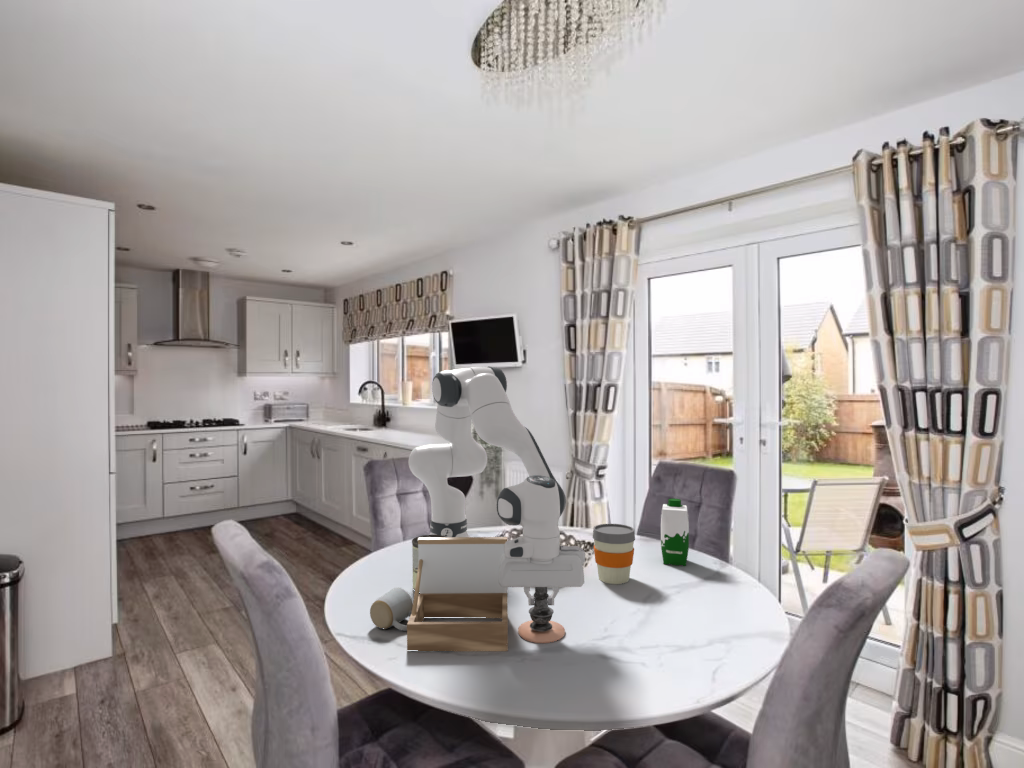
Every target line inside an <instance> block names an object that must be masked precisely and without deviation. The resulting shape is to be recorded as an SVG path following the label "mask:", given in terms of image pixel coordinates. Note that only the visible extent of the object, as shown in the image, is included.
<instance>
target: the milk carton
mask: <svg viewBox="0 0 1024 768" xmlns="http://www.w3.org/2000/svg"><path fill="white" fill-rule="evenodd" d="M667 501H668V502H667V503H663V504H662V508H661V516H660V547H661V548H660V549H661V555H662V563H663V565H668V564H672V565H671V566H679V565H683V566H682V567H686V566H687V562H688V555H689V548H690V537H689V536H690V528H689V527H690V523H689V520H690V516H689V511H688V506H687V505H684V504H682V500H681V499H680V498H676V497H675V498H668V499H667Z"/></svg>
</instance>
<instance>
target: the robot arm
mask: <svg viewBox="0 0 1024 768" xmlns="http://www.w3.org/2000/svg"><path fill="white" fill-rule="evenodd" d="M431 385H432V387H431V391H432V395H433V399H434V401H435V403H436V404H437V406H436V416H435V427H434V428H435V431H436V433H437V435H439V436H440V437H441V438H442V439H443V440H445V441H447V442H448V443H427V444H423V445H420V446H416V447H414V448H413V449H412V450H411V452H410V454H409V456H408V463H407V464H408V467H409V468H408V469H409V470H410V472H411V474H412V475H413V476H414V477H416V478H417V479H419V481H421V483H423V485H425V487H426V490H427V491H428V494H429V497H430V499H429V500H430V505H431V506H430V508H431V510H430V511H431V519H430V520H429V521H430V523H429V527H430V528H429V531H430V533H429V534H428V535H442V536H446V537H471V536H470V535H469V533H468V532H467V530H468V519H467V515H466V505H467V504H466V502H467V501H466V500H467V499H466V495H465V494H464V493H463V491H461V490H460V489H459V488H457V487H454V486H452V485H449V483H448V478H457V477H460V478H461V477H470V476H474V475H478V474H481V473H483V472H484V470H485V469H486V467H487V465H488V454H487V451H486V449H485V448H484V446H482V444H480V443H479V442H477V441H476V440H475V439H474V436H473V434H472V426H473V428H474V430H475V433H476V434H477V436H478V437H479V438H480V439H481V440H482V442H485V443H487V444H489V445H490V446H494V447H498V448H501V449H505V450H507V451H510V452H511V453H514V454H515V455H516V456H518V458H519V459H520V460H521V461H522V463H523V465H524V468H525V469H526V472H527V474H528V476H527V477H526V478H525V479H524V480H523V481H522V482H519V483H518V484H514V485H510V486H507V487H504V488H502V490H501V491H500V492H499V494H498V496H497V499H496V512H497V515H498V517H499V519H500V520H501V521H502V522H503V523H504V524H506V525H507V526H521V527H522V535H521V536H518V537H515V538H512V539H508V540H507V541H506V542H505V545H504V554H503V555H502V557H501V561H500V567H499V580H498V583H499V584H500V586H501V587H507V588H523V592H524V594H525V595H526V597H527V599H528V600H527V602H528V606H534V605H535V597H534V595H531V593H530V591H531V588H535V587H547V588H552V592H551V594H549V597H547V604H548V606H555V598H556V596H558V593H559V592H560V588H581V587H582V586H584V584H585V571H584V564H585V562H586V552H585V550H584V549H583V548H581V547H579V546H578V545H573V546H572V545H561V531H560V527H559V521H560V518H561V516H562V514H563V513H564V511H565V507H566V504H567V498H566V495H565V492H564V490H563V488H562V486H561V485H560V483H559V482H558V481H557V480H556V478H555V476H554V474H553V473H552V470H551V468H550V467H549V464H548V463H547V461H546V459H545V457H544V454H543V453H542V451H541V448H540V447H539V444H538V442H537V440H536V439H535V437H534V435H533V434H532V432H531V431H530V429H529V428H527V427H525V426H524V425H523V424H522V422H521V421H520V420H519V419H518V417H517V415H515V413H514V410H513V408H512V406H511V403H510V400H509V397H508V395H507V390H508V381H507V378H506V375H505V373H504V372H503V370H502V369H501V368H499V367H497V366H485V367H484V366H468V367H463V368H455V369H451V370H449V369H445V370H441V371H439V372H437V373H436V374H435V376H434V377H433V378H432V383H431Z"/></svg>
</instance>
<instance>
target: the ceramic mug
mask: <svg viewBox="0 0 1024 768" xmlns="http://www.w3.org/2000/svg"><path fill="white" fill-rule="evenodd" d="M412 607H413V600H412V597H411V595H410V594H409V592H408V591H406V590H405V589H404V588H402V587H394V588H392V589H390V590H389V591H387V592H386V593H384V594H383V595H382V596H380V597H378V598H377V599H376V600H374V601H373V603H371V606H370V609H369V615H370V619H371V621H372V623H373V625H375V626H376V627H377V628H378V627H380V628H379V629H381V628H384V629H383V630H387V629H389V628H392V627H394V628H396V629H397V630H398V631H402V630H407V624H406V625H405V624H402V623H401V622H402V621H404V620H406V619H407V618H410V616H411V614H412Z"/></svg>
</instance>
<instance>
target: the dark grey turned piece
mask: <svg viewBox="0 0 1024 768" xmlns="http://www.w3.org/2000/svg"><path fill="white" fill-rule="evenodd" d="M534 590H535V591H534V593H533V596H534V597H535V605H533V606H532V607H531V608H529V609H528V613H529V616H530V619H531V620H533V622H532V623H531V624H530V628H531V629H533V630H535V631H548V630H550V629H552V624H551V623H549V621H552V618H553V614H554V609H552V608H551V607H549V605H548V603H547V600H548V599H547V597H549V596H550V594H549V593H548V587H534Z"/></svg>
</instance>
